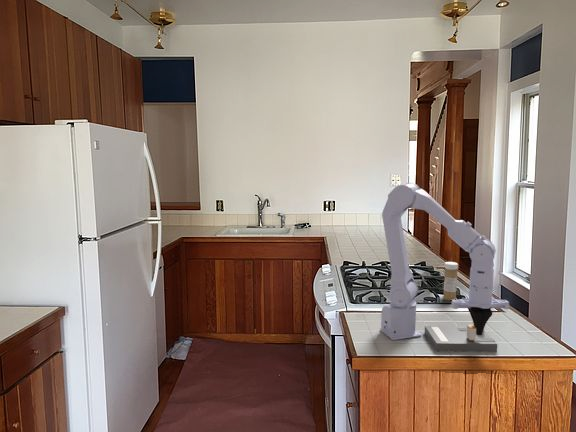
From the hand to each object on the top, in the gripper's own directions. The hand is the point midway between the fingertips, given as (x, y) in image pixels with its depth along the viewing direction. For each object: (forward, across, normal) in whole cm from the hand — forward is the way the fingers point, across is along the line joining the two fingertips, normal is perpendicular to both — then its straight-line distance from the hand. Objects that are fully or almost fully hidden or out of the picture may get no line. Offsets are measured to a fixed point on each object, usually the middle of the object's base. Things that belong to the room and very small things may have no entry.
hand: (478, 333), depth 121 cm
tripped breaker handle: (+1, -2, 0) cm, 2 cm away
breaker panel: (+4, -4, +4) cm, 7 cm away
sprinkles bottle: (+4, +5, +40) cm, 41 cm away
